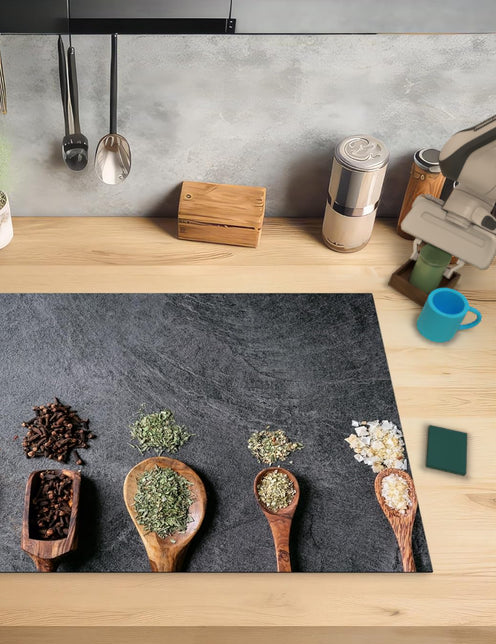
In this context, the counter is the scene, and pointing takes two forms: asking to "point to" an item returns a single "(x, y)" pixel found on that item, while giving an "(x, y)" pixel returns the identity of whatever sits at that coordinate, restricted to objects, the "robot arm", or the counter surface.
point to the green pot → (429, 268)
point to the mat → (447, 450)
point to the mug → (445, 315)
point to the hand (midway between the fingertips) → (429, 268)
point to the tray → (403, 286)
